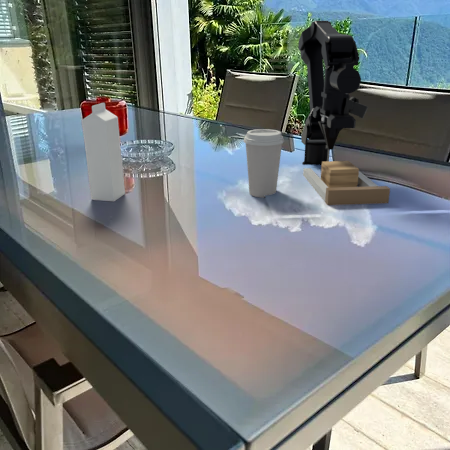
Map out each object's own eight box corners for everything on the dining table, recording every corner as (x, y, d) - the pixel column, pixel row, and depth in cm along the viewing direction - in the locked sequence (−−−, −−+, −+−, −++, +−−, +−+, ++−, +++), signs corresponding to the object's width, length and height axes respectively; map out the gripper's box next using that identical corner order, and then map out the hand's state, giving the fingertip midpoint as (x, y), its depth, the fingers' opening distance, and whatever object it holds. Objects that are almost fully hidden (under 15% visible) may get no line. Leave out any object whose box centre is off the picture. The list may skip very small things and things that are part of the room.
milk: (91, 200, 110) (78, 105, 101) (103, 192, 115) (92, 102, 107) (114, 201, 108) (103, 106, 100) (126, 193, 114) (116, 102, 105)
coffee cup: (285, 189, 116) (288, 129, 110) (277, 201, 107) (279, 137, 102) (249, 186, 119) (250, 127, 113) (238, 197, 110) (238, 135, 105)
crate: (320, 180, 121) (321, 161, 119) (346, 179, 121) (348, 160, 119) (328, 189, 113) (330, 169, 111) (357, 188, 114) (359, 169, 112)
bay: (303, 177, 125) (303, 163, 124) (353, 175, 126) (354, 161, 125) (327, 207, 103) (328, 190, 102) (387, 205, 104) (390, 188, 103)
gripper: (379, 92, 109) (372, 157, 115) (354, 84, 126) (348, 141, 132) (333, 93, 108) (328, 158, 114) (314, 85, 125) (310, 142, 131)
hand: (330, 149), depth 123 cm, fingers closed
